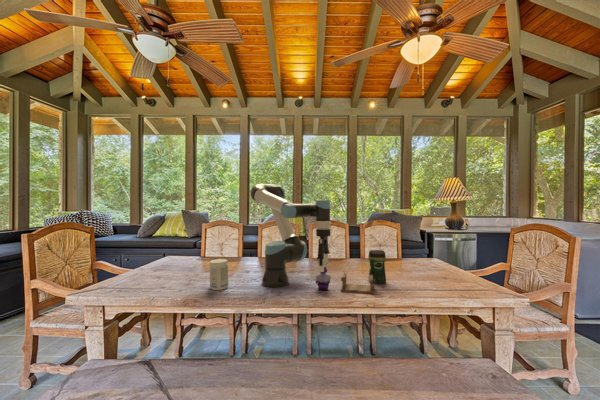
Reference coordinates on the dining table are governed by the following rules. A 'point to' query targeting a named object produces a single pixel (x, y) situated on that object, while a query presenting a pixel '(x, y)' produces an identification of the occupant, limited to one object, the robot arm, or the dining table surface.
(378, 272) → the coffee jar
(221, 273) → the supplement tub
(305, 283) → the dining table surface
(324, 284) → the potion bottle
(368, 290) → the holder
